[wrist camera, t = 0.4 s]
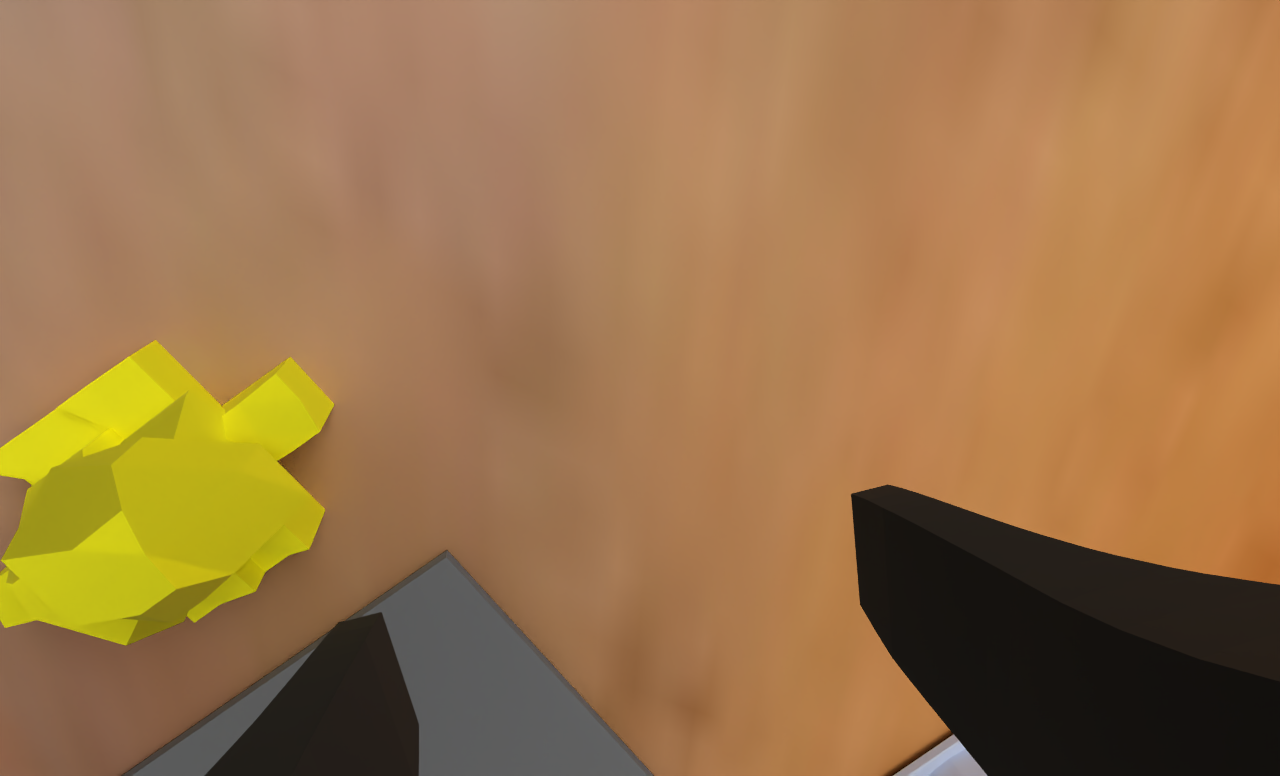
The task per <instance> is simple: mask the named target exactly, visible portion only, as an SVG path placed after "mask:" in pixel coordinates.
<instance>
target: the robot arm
mask: <svg viewBox="0 0 1280 776" xmlns="http://www.w3.org/2000/svg"><path fill="white" fill-rule="evenodd" d="M851 498H852V510H853V522H854V535H855V547H856V559H857V572H858V584H859V596H860V605H861V607H862V609H863V610H864V612H865V614H866V615H867V617H868V619H869V620H870V622H871V624H872V626H873V627H874V629H875V631H876V632H877V634H878V636H879V637H880V639H881V640H882V642H883V644H884V645H885V647H886V648H887V650H888V652H889V653H890V655H891V656H892V658H893V659H894V661H895V662H896V663H897V664H898V666H899V667H900V668H901V670H902V671H903V672H904V673H905V675H906V676H907V677H908V678H909V680H910V681H911V682H912V683H913V685H914V686H915V687H916V688H917V690H918V691H919V692H920V693H921V695H922V696H923V697H924V698H925V700H926V701H927V702H928V703H929V705H930V706H931V707H932V708H933V709H934V711H935V712H936V713H937V714H938V716H939V717H940V718H941V719H942V720H943V722H944V723H945V724H946V725H947V727H948V728H949V729H950V730H951V732H952V733H953V735H952V736H950V737H949V738H947V739H946V740H944V741H943V742H941V743H940V744H939V745H937V746H936V747H934V748H933V749H931V750H930V751H928V752H927V753H925V754H924V755H922V756H921V757H919V758H918V759H917V760H915V761H914V762H912V763H911V764H909V765H908V766H906V767H905V768H903V769H902V770H900V771H899V772H897V773H896V774H895V775H893V776H1280V585H1277V584H1269V583H1262V582H1255V581H1249V580H1242V579H1236V578H1229V577H1223V576H1216V575H1210V574H1203V573H1198V572H1193V571H1187V570H1182V569H1176V568H1171V567H1166V566H1162V565H1157V564H1153V563H1148V562H1144V561H1139V560H1134V559H1130V558H1125V557H1121V556H1116V555H1112V554H1108V553H1104V552H1100V551H1096V550H1093V549H1089V548H1085V547H1082V546H1078V545H1075V544H1071V543H1068V542H1064V541H1061V540H1057V539H1054V538H1050V537H1047V536H1043V535H1040V534H1037V533H1034V532H1031V531H1028V530H1024V529H1021V528H1018V527H1015V526H1012V525H1009V524H1006V523H1003V522H1000V521H997V520H994V519H991V518H988V517H985V516H982V515H979V514H977V513H974V512H971V511H968V510H965V509H962V508H959V507H957V506H954V505H951V504H948V503H945V502H942V501H939V500H937V499H934V498H931V497H928V496H925V495H922V494H919V493H916V492H913V491H909V490H906V489H903V488H899V487H895V486H891V485H885V486H881V487H877V488H873V489H869V490H865V491H861V492H857V493H853V494H851ZM205 776H419V723H418V720H417V716H416V713H415V710H414V707H413V704H412V701H411V698H410V695H409V692H408V689H407V686H406V683H405V680H404V677H403V674H402V671H401V668H400V665H399V662H398V659H397V656H396V653H395V650H394V647H393V644H392V641H391V638H390V635H389V632H388V629H387V626H386V623H385V620H384V617H383V614H382V612H379V613H375V614H371V615H367V616H363V617H359V618H355V619H351V620H347V621H343V622H339V623H338V624H337V625H336V626H335V627H334V628H333V629H332V630H331V631H330V632H329V633H328V635H327V636H326V637H325V638H324V639H323V640H322V642H321V643H320V644H319V645H318V646H317V647H316V649H315V650H314V651H313V652H312V653H311V655H310V656H309V657H308V658H307V660H306V661H305V662H304V663H303V664H302V666H301V667H300V668H299V669H298V670H297V672H296V673H295V674H294V675H293V676H292V678H291V679H290V680H289V681H288V682H287V684H286V685H285V686H284V687H283V688H282V689H281V691H280V692H279V693H278V694H277V695H276V697H275V698H274V699H273V700H272V701H271V702H270V704H269V705H268V706H267V707H266V708H265V709H264V711H263V712H262V713H261V714H260V715H259V717H258V718H257V719H256V720H255V721H254V722H253V724H252V725H251V726H250V727H249V728H248V729H247V730H246V731H245V732H244V733H243V734H242V736H241V737H240V738H239V739H238V740H237V741H236V742H235V743H234V744H233V745H232V746H231V747H230V749H229V750H228V751H227V752H226V753H225V754H224V755H223V756H222V757H221V758H220V759H219V760H218V762H217V763H216V764H215V765H214V766H213V767H212V768H211V769H210V770H209V771H208V772H207V773H206V774H205Z"/></svg>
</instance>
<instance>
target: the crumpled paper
mask: <svg viewBox="0 0 1280 776" xmlns="http://www.w3.org/2000/svg"><path fill="white" fill-rule="evenodd" d="M334 405H335V404H334V403H333V402H332V401H331V400H330V399H329V398H328V397H327V396H326V395H325V394H324V393H323V391H322V390H321V389H320V388H319V387H318V386H317V385H316V384H315V383H314V382H313V381H312V380H311V378H310V377H309V376H308V375H307V374H306V373H305V372H304V371H303V370H302V369H301V368H300V367H299V366H298V364H297V363H296V362H295V361H294V360H293V359H292V358H291V357H289V358H288V359H286V360H285V361H284V362H282V363H281V364H279V365H278V366H277V367H275V368H274V369H273V370H271V371H270V372H268V373H267V374H266V375H264V376H263V377H261V378H260V379H259V380H257V381H256V382H254V383H253V384H252V385H250V386H249V387H248V388H246V389H245V390H243V391H242V392H241V393H239V394H238V395H236V396H235V397H234V398H232V399H231V400H230V401H228V402H227V403H225V404H224V405H223V406H221V405H220V404H219V403H218V402H217V401H216V400H215V399H214V398H213V397H212V396H211V395H210V394H209V393H208V392H207V391H206V390H205V389H204V388H203V387H202V386H201V385H200V384H199V383H198V382H197V381H196V380H195V379H194V378H193V377H192V376H191V375H190V374H189V373H188V372H187V371H186V370H185V369H184V368H183V367H182V366H181V365H180V364H179V363H178V362H177V361H176V360H175V359H174V358H173V357H172V356H171V355H170V354H169V353H168V352H167V351H166V350H165V349H164V348H163V347H162V346H161V345H160V344H159V343H158V342H157V341H156V340H155V341H153V342H152V343H150V344H148V345H147V346H145V347H143V348H142V349H140V350H139V351H137V352H135V353H134V354H132V355H131V356H129V357H128V358H126V359H125V360H123V361H122V362H120V363H119V364H118V365H116V366H115V367H113V368H112V369H110V370H109V371H107V372H106V373H105V374H103V375H102V376H100V377H99V378H97V379H96V380H94V381H93V382H92V383H90V384H89V385H87V386H86V387H84V388H83V389H82V390H80V391H79V392H78V393H76V394H75V395H73V396H72V397H71V398H69V399H68V400H67V401H65V402H64V403H62V404H61V405H60V406H58V407H57V409H55V410H54V411H52V412H51V413H50V414H48V415H47V416H45V417H44V418H42V419H41V420H40V421H38V422H37V423H35V424H34V425H32V426H31V427H30V428H28V429H27V430H25V431H24V432H22V433H21V434H20V435H18V436H17V437H15V438H14V439H12V440H11V441H10V442H8V443H7V444H5V445H4V446H2V447H1V448H0V475H1V476H8V477H14V478H20V479H25V480H26V481H28V482H29V483H30V484H31V485H32V486H31V487H30V488H28V489H27V493H26V497H25V501H24V506H23V510H22V515H21V519H20V523H19V528H18V530H17V532H16V534H15V535H14V537H13V539H12V541H11V543H10V545H9V546H8V548H7V550H6V552H5V554H4V556H3V557H2V559H1V561H2V562H3V563H4V564H5V565H6V566H7V567H6V568H5V569H3V570H2V571H1V572H0V621H1V622H2V624H3V625H4V627H5V628H7V627H11V626H15V625H19V624H23V623H27V622H31V621H35V620H39V621H42V622H46V623H49V624H53V625H56V626H60V627H63V628H67V629H70V630H74V631H77V632H81V633H84V634H88V635H91V636H94V637H98V638H101V639H105V640H108V641H112V642H115V643H119V644H122V645H129V644H131V643H134V642H136V641H138V640H141V639H143V638H146V637H148V636H150V635H153V634H155V633H158V632H160V631H162V630H165V629H167V628H169V627H172V626H174V625H177V624H179V623H181V622H184V620H185V618H186V616H187V617H188V618H189V619H191V620H192V621H193V622H194V623H195V622H196V621H198V620H199V619H200V618H202V617H203V616H205V615H206V614H207V613H209V612H210V611H212V610H213V609H214V608H216V607H217V606H219V605H220V604H223V603H225V602H228V601H231V600H234V599H236V598H239V597H242V596H245V595H248V594H250V593H253V592H256V590H257V588H258V586H259V584H260V582H261V580H262V578H263V576H264V574H265V572H266V571H267V570H269V569H270V568H272V567H273V566H274V565H276V564H277V563H279V562H280V561H281V560H283V559H284V558H286V557H287V556H288V555H291V554H295V553H298V552H302V551H305V550H309V549H310V546H311V544H312V542H313V539H314V537H315V534H316V532H317V529H318V527H319V524H320V522H321V520H322V517H323V515H324V512H325V509H324V508H323V507H322V506H321V505H320V504H319V503H318V502H317V501H316V500H315V499H314V498H313V497H312V496H311V495H310V494H309V493H308V492H307V491H306V490H305V489H304V488H303V487H302V486H301V485H300V484H299V483H298V482H297V481H296V480H295V479H294V478H293V477H292V476H291V475H290V474H289V473H288V472H287V471H286V470H285V469H284V468H283V467H282V466H281V465H280V464H279V463H278V462H277V461H278V460H279V459H281V458H283V457H284V456H286V455H287V454H289V453H291V452H292V451H294V450H295V449H296V448H298V447H299V446H301V445H302V444H303V443H305V442H306V441H308V440H309V439H310V438H312V437H313V436H314V435H316V434H317V433H319V432H320V431H321V429H322V427H323V425H324V423H325V421H326V419H327V418H328V416H329V414H330V412H331V410H332V408H333V406H334Z"/></svg>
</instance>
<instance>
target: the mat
mask: <svg viewBox="0 0 1280 776" xmlns="http://www.w3.org/2000/svg"><path fill="white" fill-rule="evenodd" d="M379 612H382V614H383V617H384V620H385V623H386V626H387V629H388V632H389V635H390V638H391V641H392V644H393V647H394V650H395V653H396V656H397V659H398V662H399V665H400V668H401V671H402V674H403V677H404V680H405V683H406V686H407V689H408V692H409V695H410V698H411V701H412V704H413V707H414V710H415V713H416V716H417V720H418V723H419V776H654V775H653V774H652V773H651V772H650V771H649V770H648V769H647V768H646V767H645V765H644V764H643V763H642V762H641V761H640V760H639V759H638V758H637V757H636V756H635V755H634V753H633V752H632V751H631V750H630V749H629V748H628V747H627V746H626V745H625V744H624V743H623V741H622V740H621V739H620V738H619V737H618V736H617V735H616V734H615V733H614V732H613V731H612V729H611V728H610V727H609V726H608V725H607V724H606V723H605V722H604V721H603V720H602V719H601V717H600V716H599V715H598V714H597V713H596V712H595V711H594V710H593V709H592V708H591V706H590V705H589V704H588V703H587V702H586V701H585V700H584V699H583V698H582V697H581V696H580V694H579V693H578V692H577V691H576V690H575V689H574V688H573V687H572V686H571V685H570V684H569V682H568V681H567V680H566V679H565V678H564V677H563V676H562V675H561V674H560V673H559V672H558V670H557V669H556V668H555V667H554V666H553V665H552V664H551V663H550V662H549V661H548V660H547V658H546V657H545V656H544V655H543V654H542V653H541V652H540V651H539V650H538V649H537V648H536V646H535V645H534V644H533V643H532V642H531V641H530V640H529V639H528V638H527V637H526V636H525V634H524V633H523V632H522V631H521V630H520V629H519V628H518V627H517V626H516V625H515V624H514V622H513V621H512V620H511V619H510V618H509V617H508V616H507V615H506V614H505V613H504V612H503V610H502V609H501V608H500V607H499V606H498V605H497V604H496V603H495V602H494V601H493V600H492V598H491V597H490V596H489V595H488V594H487V593H486V592H485V591H484V590H483V589H482V588H481V586H480V585H479V584H478V583H477V582H476V581H475V580H474V579H473V578H472V577H471V576H470V574H469V573H468V572H467V571H466V570H465V569H464V568H463V567H462V566H461V565H460V564H459V562H458V561H457V560H456V559H455V558H454V557H453V556H452V555H451V554H450V553H449V552H448V550H446V551H445V552H443V553H442V554H441V555H439V556H438V557H436V558H435V559H433V560H432V561H430V562H429V563H428V564H426V565H425V566H423V567H422V568H420V569H419V570H417V571H416V572H415V573H413V574H412V575H410V576H409V577H407V578H406V579H405V580H403V581H402V582H400V583H399V584H397V585H396V586H394V587H393V588H392V589H390V590H389V591H387V592H386V593H384V594H383V595H381V596H380V597H379V598H377V599H376V600H374V601H373V602H371V603H370V604H369V605H367V606H366V607H364V608H363V609H361V610H360V611H358V612H357V613H356V614H354V615H353V616H351V617H350V618H348V619H347V620H351V619H355V618H359V617H363V616H367V615H371V614H375V613H379ZM347 620H345V621H347ZM328 633H329V632H328ZM328 633H327V634H325V635H324V636H322V637H321V638H320V639H318V640H317V641H315V642H314V643H312V644H311V645H309V646H308V647H307V648H305V649H304V650H302V651H301V652H299V653H298V654H296V655H295V656H294V657H292V658H291V659H289V660H288V661H286V662H285V663H283V664H282V665H281V666H279V667H278V668H276V669H275V670H273V671H272V672H271V673H269V674H268V675H266V676H265V677H263V678H262V679H260V680H259V681H258V682H256V683H255V684H253V685H252V686H250V687H249V688H247V689H246V690H245V691H243V692H242V693H240V694H239V695H237V696H236V697H235V698H233V699H232V700H230V701H229V702H227V703H226V704H224V705H223V706H222V707H220V708H219V709H217V710H216V711H214V712H213V713H211V714H210V715H209V716H207V717H206V718H204V719H203V720H201V721H200V722H198V723H197V724H196V725H194V726H193V727H191V728H190V729H188V730H187V731H186V732H184V733H183V734H181V735H180V736H178V737H177V738H175V739H174V740H173V741H171V742H170V743H168V744H167V745H165V746H164V747H162V748H161V749H160V750H158V751H157V752H155V753H154V754H152V755H151V756H150V757H148V758H147V759H145V760H144V761H142V762H141V763H139V764H138V765H137V766H135V767H134V768H132V769H131V770H129V771H128V772H126V773H125V774H124V775H122V776H205V774H206V773H207V772H208V771H209V770H210V769H211V768H212V767H213V766H214V765H215V764H216V763H217V762H218V760H219V759H220V758H221V757H222V756H223V755H224V754H225V753H226V752H227V751H228V750H229V749H230V747H231V746H232V745H233V744H234V743H235V742H236V741H237V740H238V739H239V738H240V737H241V736H242V734H243V733H244V732H245V731H246V730H247V729H248V728H249V727H250V726H251V725H252V724H253V722H254V721H255V720H256V719H257V718H258V717H259V715H260V714H261V713H262V712H263V711H264V709H265V708H266V707H267V706H268V705H269V704H270V702H271V701H272V700H273V699H274V698H275V697H276V695H277V694H278V693H279V692H280V691H281V689H282V688H283V687H284V686H285V685H286V684H287V682H288V681H289V680H290V679H291V678H292V676H293V675H294V674H295V673H296V672H297V670H298V669H299V668H300V667H301V666H302V664H303V663H304V662H305V661H306V660H307V658H308V657H309V656H310V655H311V653H312V652H313V651H314V650H315V649H316V647H317V646H318V645H319V644H320V643H321V642H322V640H323V639H324V638H325V637H326V636H327V635H328Z"/></svg>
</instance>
